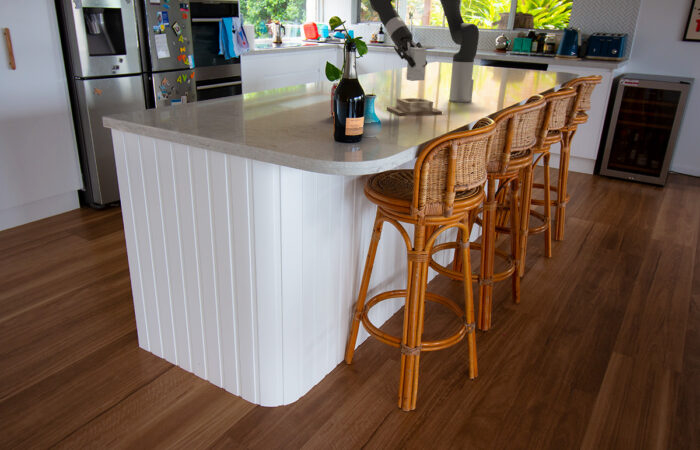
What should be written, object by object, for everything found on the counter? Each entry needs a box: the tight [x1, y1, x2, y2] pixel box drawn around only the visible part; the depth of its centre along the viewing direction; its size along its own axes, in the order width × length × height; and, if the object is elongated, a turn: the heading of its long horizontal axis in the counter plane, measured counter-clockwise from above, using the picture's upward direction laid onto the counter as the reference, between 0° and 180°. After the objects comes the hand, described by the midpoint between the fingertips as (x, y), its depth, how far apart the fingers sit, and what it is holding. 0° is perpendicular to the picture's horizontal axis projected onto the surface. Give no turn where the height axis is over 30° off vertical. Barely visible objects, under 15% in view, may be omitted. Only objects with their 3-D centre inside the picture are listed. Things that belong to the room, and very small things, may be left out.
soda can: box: [330, 82, 339, 117], centre depth 204 cm, size 7×7×12 cm
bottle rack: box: [386, 97, 443, 117], centre depth 218 cm, size 18×14×5 cm
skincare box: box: [406, 47, 428, 82], centre depth 212 cm, size 6×4×12 cm
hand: (419, 65), depth 211 cm, fingers closed on skincare box, 6 cm apart
